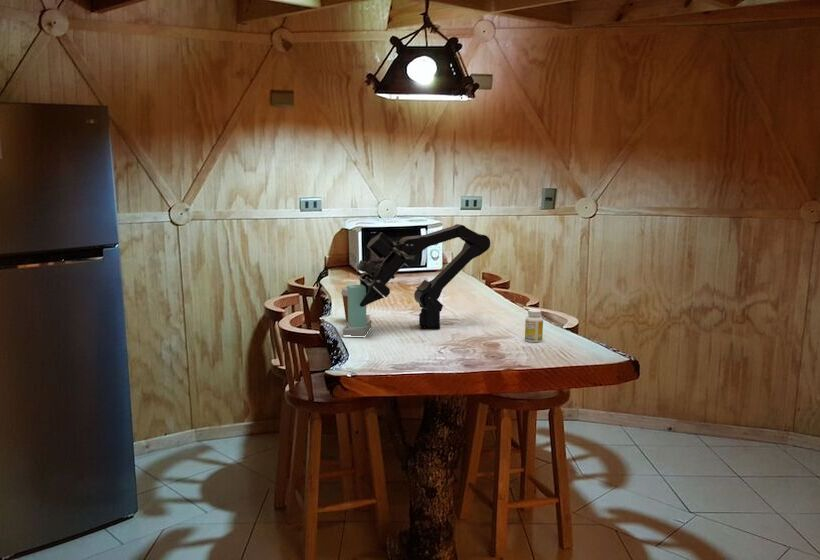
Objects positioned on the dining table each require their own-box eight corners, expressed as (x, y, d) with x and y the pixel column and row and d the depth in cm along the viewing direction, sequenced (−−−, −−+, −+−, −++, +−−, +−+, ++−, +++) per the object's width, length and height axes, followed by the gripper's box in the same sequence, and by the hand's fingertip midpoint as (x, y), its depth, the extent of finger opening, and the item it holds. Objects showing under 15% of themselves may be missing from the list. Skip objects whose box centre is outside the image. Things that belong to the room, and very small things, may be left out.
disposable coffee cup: (344, 325, 214) (343, 291, 212) (339, 319, 223) (338, 286, 221) (371, 324, 217) (370, 290, 215) (365, 318, 226) (365, 285, 224)
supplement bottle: (527, 343, 191) (528, 312, 190) (522, 338, 196) (523, 308, 195) (544, 342, 192) (545, 311, 190) (539, 338, 197) (540, 308, 195)
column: (362, 323, 207) (362, 284, 205) (366, 326, 202) (365, 287, 200) (348, 324, 205) (347, 285, 203) (351, 327, 200) (350, 287, 198)
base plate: (372, 327, 211) (372, 314, 211) (365, 338, 198) (365, 324, 197) (350, 327, 212) (349, 314, 211) (342, 337, 198) (341, 323, 198)
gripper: (364, 248, 210) (333, 282, 209) (379, 254, 192) (345, 292, 191) (387, 270, 214) (357, 304, 212) (404, 278, 196) (370, 315, 195)
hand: (357, 303), depth 202 cm, fingers open, 9 cm apart
